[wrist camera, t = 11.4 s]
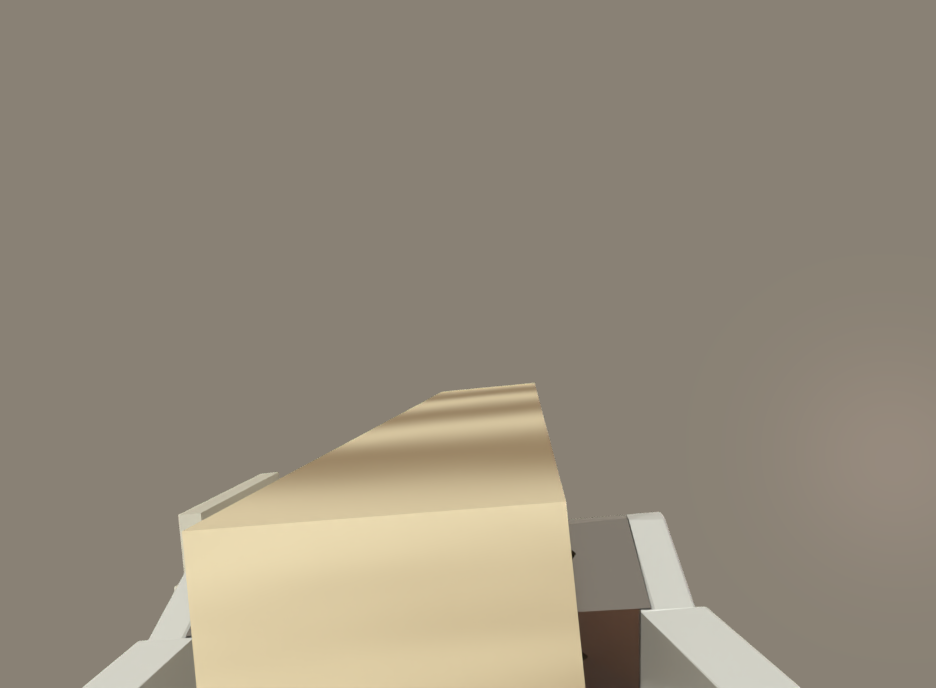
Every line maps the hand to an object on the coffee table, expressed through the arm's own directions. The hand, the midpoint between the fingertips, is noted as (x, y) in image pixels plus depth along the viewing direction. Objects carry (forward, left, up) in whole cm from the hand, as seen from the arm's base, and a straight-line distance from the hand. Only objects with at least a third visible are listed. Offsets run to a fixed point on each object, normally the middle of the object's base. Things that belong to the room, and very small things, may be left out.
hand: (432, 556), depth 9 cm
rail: (+2, -6, -3) cm, 7 cm away
